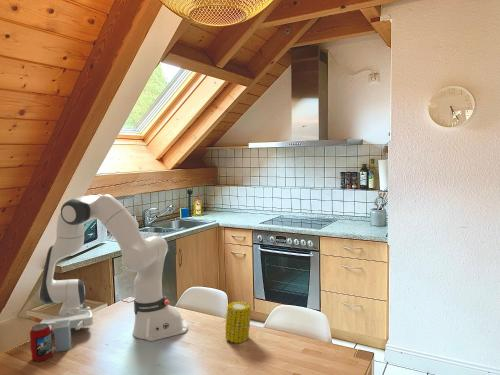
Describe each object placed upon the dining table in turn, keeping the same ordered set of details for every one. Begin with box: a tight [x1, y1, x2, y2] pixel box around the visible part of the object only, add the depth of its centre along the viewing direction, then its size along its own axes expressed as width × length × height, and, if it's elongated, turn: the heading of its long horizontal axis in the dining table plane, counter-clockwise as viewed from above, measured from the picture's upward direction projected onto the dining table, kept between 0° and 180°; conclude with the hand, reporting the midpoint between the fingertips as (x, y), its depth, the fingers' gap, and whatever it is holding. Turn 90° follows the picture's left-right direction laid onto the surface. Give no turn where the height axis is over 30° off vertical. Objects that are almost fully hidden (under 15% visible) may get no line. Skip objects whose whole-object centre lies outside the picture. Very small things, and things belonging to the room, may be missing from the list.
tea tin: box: [53, 319, 72, 353], centre depth 156 cm, size 5×5×10 cm
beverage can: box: [29, 323, 53, 362], centre depth 149 cm, size 7×7×12 cm
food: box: [224, 300, 252, 344], centre depth 159 cm, size 15×12×10 cm
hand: (64, 330), depth 159 cm, fingers open, 8 cm apart
